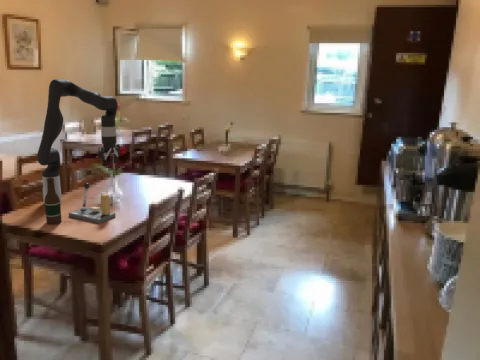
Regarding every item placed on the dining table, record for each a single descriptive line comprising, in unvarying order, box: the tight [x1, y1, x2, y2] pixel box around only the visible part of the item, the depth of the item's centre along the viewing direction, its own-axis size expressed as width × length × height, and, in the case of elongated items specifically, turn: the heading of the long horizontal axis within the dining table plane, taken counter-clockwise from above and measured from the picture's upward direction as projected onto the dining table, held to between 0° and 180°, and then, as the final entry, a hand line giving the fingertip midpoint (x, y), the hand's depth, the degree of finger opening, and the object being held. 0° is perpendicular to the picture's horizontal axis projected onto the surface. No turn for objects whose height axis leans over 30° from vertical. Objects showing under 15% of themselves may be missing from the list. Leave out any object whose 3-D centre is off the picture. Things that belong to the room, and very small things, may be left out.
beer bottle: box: [44, 178, 62, 225], centre depth 212 cm, size 8×8×24 cm
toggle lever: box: [82, 182, 91, 208], centre depth 229 cm, size 3×3×14 cm
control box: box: [68, 206, 116, 224], centre depth 224 cm, size 22×12×2 cm, turn 66°
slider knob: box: [100, 193, 111, 215], centre depth 221 cm, size 4×4×11 cm
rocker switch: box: [88, 206, 101, 212], centre depth 226 cm, size 4×4×2 cm
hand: (110, 164), depth 219 cm, fingers open, 8 cm apart
